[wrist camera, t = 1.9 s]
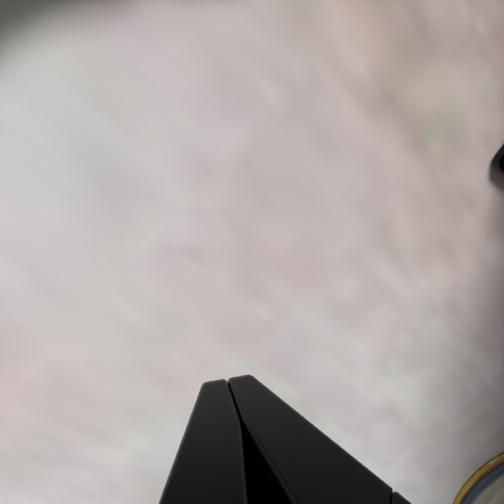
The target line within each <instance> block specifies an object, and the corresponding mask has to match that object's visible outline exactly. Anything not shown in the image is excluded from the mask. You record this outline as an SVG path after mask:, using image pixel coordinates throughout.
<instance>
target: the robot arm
mask: <svg viewBox="0 0 504 504" xmlns="http://www.w3.org/2000/svg"><path fill="white" fill-rule="evenodd" d="M493 165H494V167H495V169H496V170H497V171H499V172H500V173H501V174H502V175H503V176H504V145H503V146H502V147H501V148H500V150H499V151H498V152H497V154H496V155H495V157H494V160H493ZM392 493H393V494H392ZM159 504H411V503H410V502H409V501H408V500H406V499H405V498H404V497H403V496H401V495H400V494H399V493H398V492H393V490H392V488H391V487H390V486H389V485H387V484H386V483H385V482H384V481H382V480H381V479H380V478H379V477H377V476H376V475H375V474H374V473H372V472H371V471H370V470H369V469H367V468H366V467H365V466H364V465H362V464H361V463H360V462H359V461H357V460H356V459H355V458H354V457H353V456H351V455H350V454H349V453H348V452H346V451H345V450H344V449H343V448H341V447H340V446H339V445H338V444H336V443H335V442H334V441H333V440H331V439H330V438H329V437H328V436H326V435H325V434H324V433H323V432H321V431H320V430H319V429H318V428H317V427H315V426H314V425H313V424H312V423H310V422H309V421H308V420H307V419H305V418H304V417H303V416H302V415H300V414H299V413H298V412H297V411H295V410H294V409H293V408H292V407H290V406H289V405H288V404H287V403H285V402H284V401H283V400H282V399H280V398H279V397H278V396H277V395H276V394H274V393H273V392H272V391H271V390H269V389H268V388H267V387H266V386H264V385H263V384H262V383H261V382H259V381H258V380H257V379H256V378H254V377H253V376H251V375H243V376H238V377H232V378H230V379H228V382H227V381H226V380H224V379H221V380H215V381H209V382H205V383H203V385H202V386H201V389H200V392H199V394H198V397H197V400H196V403H195V405H194V408H193V411H192V414H191V416H190V419H189V422H188V425H187V427H186V430H185V433H184V436H183V438H182V441H181V444H180V447H179V449H178V452H177V455H176V457H175V460H174V463H173V466H172V468H171V471H170V474H169V477H168V479H167V482H166V485H165V488H164V490H163V493H162V496H161V499H160V501H159Z"/></svg>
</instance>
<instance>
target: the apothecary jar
mask: <svg viewBox="0 0 504 504" xmlns="http://www.w3.org/2000/svg"><path fill="white" fill-rule="evenodd" d="M454 504H504V453H503V454H501V455H499V456H497V457H495V458H494V459H492V460H491V461H489V462H488V463H487V464H486V465H484V466H483V467H482V468H481V469H479V470H478V471H477V472H476V473H475V474H474V475H473V476H472V477H471V478H470V479H469V480H468V481H467V483H466V484H465V485H464V486H463V488H462V489H461V490H460V492H459V493H458V495H457V497H456V499H455V501H454Z"/></svg>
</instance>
